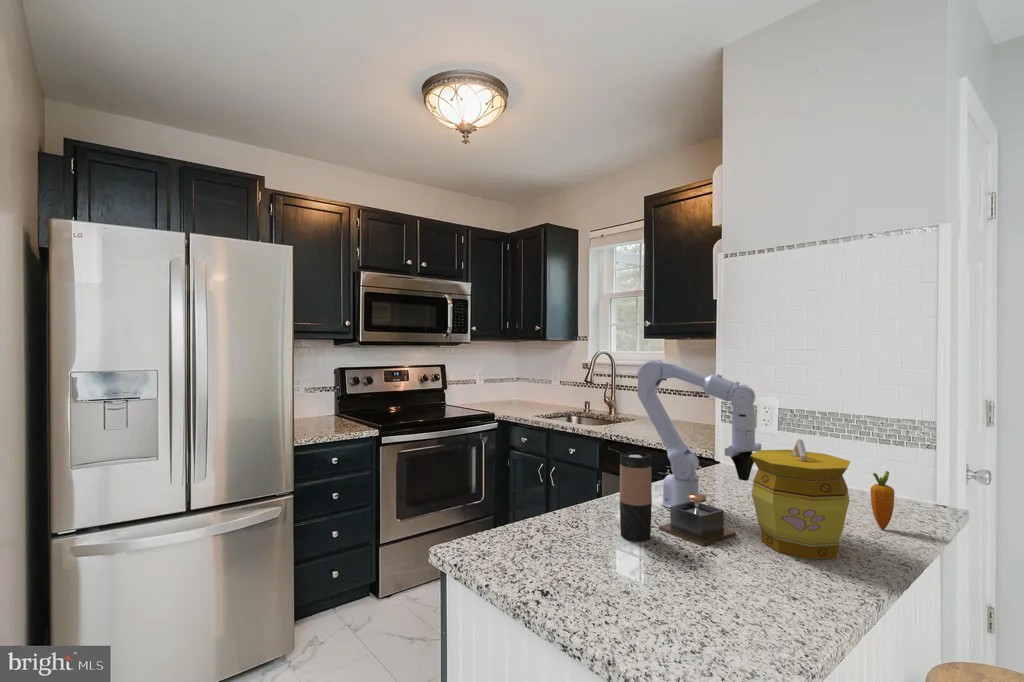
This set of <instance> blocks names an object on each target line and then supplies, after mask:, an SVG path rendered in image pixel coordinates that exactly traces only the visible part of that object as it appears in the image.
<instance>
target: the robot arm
mask: <svg viewBox="0 0 1024 682" xmlns="http://www.w3.org/2000/svg"><path fill="white" fill-rule="evenodd" d="M636 375H637V396H638V399H639V401H640V403H641V404H642V406H643V408H644V409H645V412H646V414H647V416H648V418H650V419H649V420H650V421H651V423H652V424H653V426H654V429H655V431H656V432H657V434H658V436H659V438H660V439H661V441H662V443H663V444H664V446H665V448H666V453H667V458H668V460H669V462H670V468H671V469H670V470H671V473H672V474H671V473H670V474H668V475H666V476H665V477H664V480H663V484H662V486H663V487H662V492H663V493H662V494H663V496H662V503H661V506H662V507H665V508H668V509H670V507H671V506H675V505H678V504H682V503H686V502H690V500H688V494H689V493H699V492H700V491H699V475H698V474H697V472H696V471H698V469H699V467H700V460H699V457H698V456H697V455H696V454H695V453H693V452H692V451H691V449H690V448H689V447H688V445H687V444H685V442H683V439H682V438H681V436H680V434H679V432H678V431H677V428H676V427H675V425H674V423H673V422H672V420H671V418H670V416H669V414H668V412H667V410H666V409H665V407H664V405H663V404H662V402H661V399H660V397H659V396H658V395H657V392H658V389H659V387H660V384H661V383H662V382H663V381H664V379H671V378H672V379H673V378H676V379H678V380H680V381H684V382H686V383H690V384H692V385H694V386H695V385H696V386H698V387H701V388H702V389H703V391H704V393H705V394H707V395H709V396H712V397H715V398H717V399H720V400H722V401H725V402H727V403H728V402H731V404H732V413H731V445H729V446H728V447H726V448H724V456H726V457H730V459H731V460H732V462H733V464H734V467H735V469H736V473H737V477H738V480H739V481H745V482H746V481H749V480H750V476H751V472H752V469H753V466H754V464H755V462H754V461H753V459H752V458H751V456H750V455H752V454H753V453H754V452H756V451H758V450H762V443H757V442H756V419H755V418H756V414H755V411H756V410H755V409H756V408H755V404H754V403H755V400H756V394H755V391H754V390H753V388H751V387H750V386H748V385H747V384H740V382H739V381H735V382H734V381H732V380H728V379H726V378H724V377H723V375H721V374H719V373H718V374H716V375H715V374H710V375H708V376H705V375H703V374H699V373H698V372H695V371H693V370H690V369H688V368H686V367H683V366H681V365H678V364H675V363H671V362H668V361H662V360H661V359H653V360H645V361H643V362H642V363H641V364H640V367H639V368H638V370H637V372H636ZM699 494H700V493H699Z"/></svg>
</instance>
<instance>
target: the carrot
mask: <svg viewBox="0 0 1024 682" xmlns="http://www.w3.org/2000/svg"><path fill="white" fill-rule="evenodd" d="M872 475H873V477H874V478H875V480H876V482H877V483H876V484H873V485H872V486H871V487H870V504H871V509H872V510H871V511H872V514H873V518H874V519H875V521H876V523H877V525H878V527H879V528H880V529H881V531H885V529H887V527H888V525H889V524H890V522H891V519H892V517H893V512H894V507H895V489H894V488H893V487H891V486H890V485H887V482H888V480H889V476H890V471H888V470H886V471H885V473H884V474H883V476H882V477H881V476H880V477H879V475H878V474H877V473H876V472H872Z"/></svg>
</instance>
